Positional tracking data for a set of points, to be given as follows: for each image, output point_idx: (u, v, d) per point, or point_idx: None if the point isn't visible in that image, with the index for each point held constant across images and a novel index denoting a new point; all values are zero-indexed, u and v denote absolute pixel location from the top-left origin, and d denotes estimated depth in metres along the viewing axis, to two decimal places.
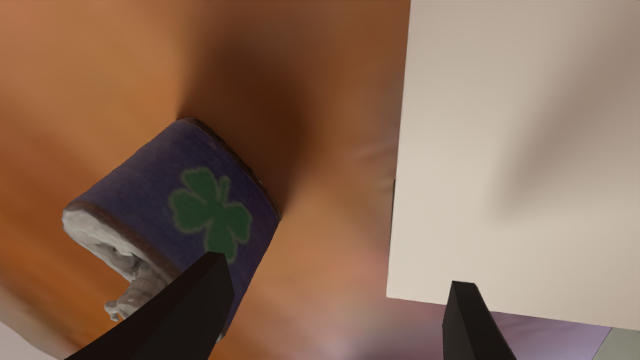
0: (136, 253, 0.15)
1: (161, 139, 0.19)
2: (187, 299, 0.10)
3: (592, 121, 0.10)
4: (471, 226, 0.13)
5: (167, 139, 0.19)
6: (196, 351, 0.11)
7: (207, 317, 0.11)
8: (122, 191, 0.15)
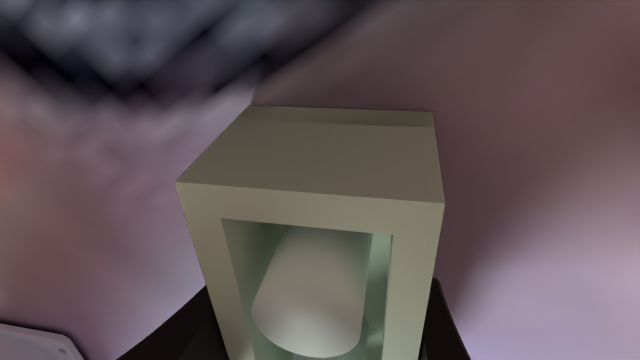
0: None
1: None
2: None
3: None
4: None
5: None
6: (228, 357, 0.10)
7: None
8: None
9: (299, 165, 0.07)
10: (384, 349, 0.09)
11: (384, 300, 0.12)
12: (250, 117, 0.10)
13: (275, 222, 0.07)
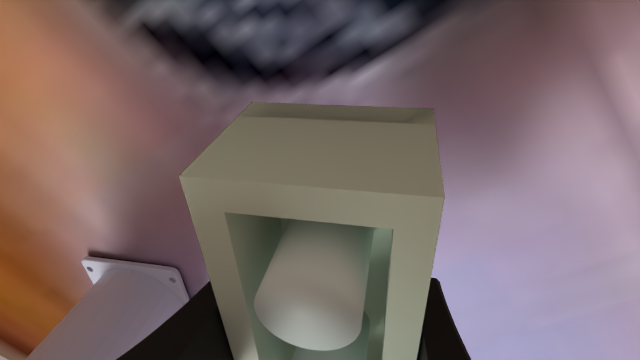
0: None
1: None
2: None
3: None
4: None
5: None
6: (228, 357, 0.10)
7: None
8: None
9: (301, 160, 0.07)
10: (384, 343, 0.09)
11: (385, 296, 0.12)
12: (253, 114, 0.10)
13: (277, 216, 0.07)
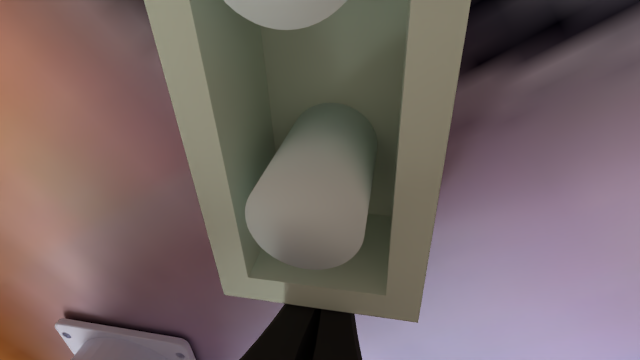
0: None
1: None
2: (313, 318, 0.09)
3: None
4: None
5: None
6: None
7: None
8: None
9: None
10: (410, 25, 0.05)
11: (399, 87, 0.09)
12: None
13: None
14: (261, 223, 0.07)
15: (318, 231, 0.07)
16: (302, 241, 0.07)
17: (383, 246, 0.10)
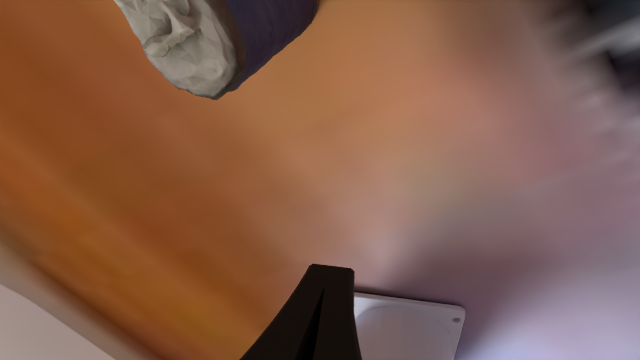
0: None
1: None
2: (313, 318, 0.09)
3: None
4: None
5: None
6: None
7: None
8: None
9: None
10: None
11: None
12: None
13: None
14: None
15: None
16: None
17: None
